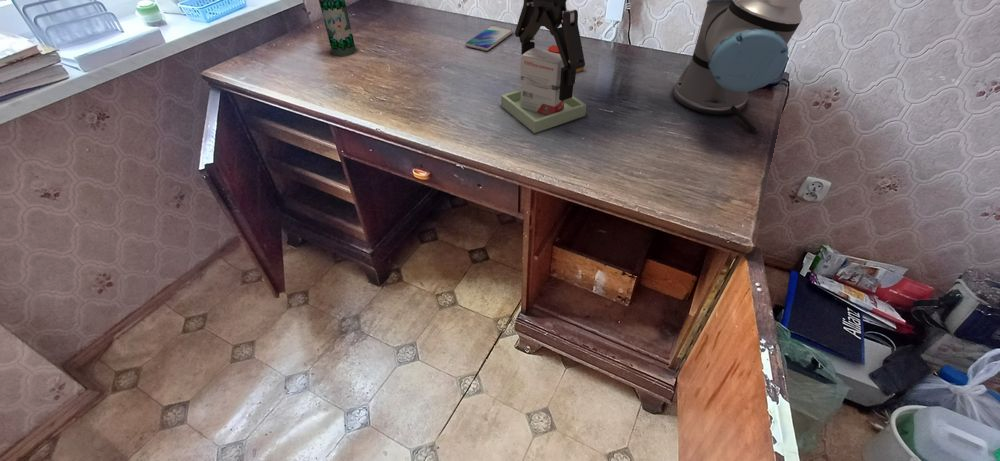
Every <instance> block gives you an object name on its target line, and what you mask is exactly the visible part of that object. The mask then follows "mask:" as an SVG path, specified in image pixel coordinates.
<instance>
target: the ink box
mask: <svg viewBox="0 0 1000 461" xmlns="http://www.w3.org/2000/svg"><path fill="white" fill-rule="evenodd" d="M563 67H564V64H563V61H562V59H561V56H560V54H557V53H552V52H548V51H545V50H543V49H539V48H536V47H535V48H531V49H530V50H528V51H527V52H525V53H524V54H523V55H520V90H521V100H520V104H521V106H520V107H521V108H523V109H527V110H530V111H533V112H537V113H540V114H543V115H547V116H548V115H551V114H554V113H557V112H560V111H562V110H563V109H564V100H563V101H560V100H559V92H560V78H561V68H563Z"/></svg>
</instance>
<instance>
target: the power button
mask: <svg viewBox="0 0 1000 461" xmlns="http://www.w3.org/2000/svg"><path fill="white" fill-rule="evenodd" d="M547 50H548V52H552V53H557V54H560V53H559V50H558V47H557V45H551V46H549V47H548V48H547Z"/></svg>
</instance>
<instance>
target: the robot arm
mask: <svg viewBox="0 0 1000 461" xmlns="http://www.w3.org/2000/svg"><path fill="white" fill-rule="evenodd" d="M567 1H568V0H523V5H522V8H521V11H520V15H519V18H518V21H517V24H516V27H515V30H514V36H515V37H516V38H519V42H520V44H521V45H520V47H521V52H520V54H521V55H523V54H524V53H525V52H527V51H528V50H530V49H531V48H535V49H536V46H535V45H536V43H535V41H534V40H536V39H535V36H536V35H537V33H538V32H539V30H541V28H542V27H544V28H545V29H546V30H548V31H549V34H550V35H551V36H553V38H554V40H555V44H556V46H557V47H558V50H559V53H560V56H561V59H562V61H563V64H564V67H563V68H561V78H560V92H559V100H560V101H563V100H566V99H569V98H572V96H573V92H574V85H575V84H576V75H577V73H576V69H579V68H582V67H584V68H585V67H586V61H585V55H584V51H583V46H582V39H581V34H580V28H579V11H578V10H577V9H572V10H569V9H568V8H567ZM802 2H803V0H707V1H706V7H705V11H704V14H703V18H702V22H701V25H700V29H699V32H698V36H697V40H696V43H695V45H694V46H695V47H694V50H693V53H692V57H691V60H690V62H689V63H688V65H687V67H686V68H685V69H684V71H683V72H682V74H681V76H680V77H679V78H678V80H677V81H676V83H675V85H674V86H675V87H674V90H673V97H674V99H675V100H676V101H677V102H678V103H679V104H680V105H682V106H684V107H685V108H687V109H690V110H692V111H694V112H698V113H701V114H707V115H715V116H723V115H724V116H725V115H733V114H735V115H736V116H737V117H738V118H739V120H740V121H741V122H742V123H743V124H744V125H745V127H746V128H748V129H749V130H750V131H751V132H753V133H754V132H756V131H757V127H756V126H755V125H753V123H752V122H750V121H749V119H748V118H747V117H746V116H745V115H744V114H743V113H742V112H741V111H742V110H743V109H744V108H745V106H746V103H747V101H748V98H749V92H753V91H755V90H759V89H761V88H764V87H766V86H767V85H769V84H771V83H772V82H774V81H775V80H776V79H777V78H778V77H779V76H780V75H781V74H782V72H783V71H784V69H785V67H786V65H787V63H788V58H789V46H788V44H789V42H790V41H791V39H792V38H793V36H794V35H795V32H796V31H797V29H798V27H799V26H800V24H801V22H802V21H803V14H802V11H801V3H802ZM560 26H561V27H560ZM521 55H520V56H521ZM569 61H570V62H569Z"/></svg>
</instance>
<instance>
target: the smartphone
mask: <svg viewBox="0 0 1000 461" xmlns="http://www.w3.org/2000/svg"><path fill="white" fill-rule="evenodd" d="M513 33H514V31H513V30H512V29H510V28H505V27H501V26H497V25H490V26H489V27H487V28H486V29H484V30H483V31H481V32H480V33H478V34H477V35H474V37H472V38H470V39H468V41H466V42H465V46H466V47H468V48H474V49H477V50H480V51H486V52H487V51H489V50H491V49H492V48H494V47H495V46H496V45H498V44H500V43H501V42H502V41H504V40H505V39H507V38H508V37H509V36H511V35H512V34H513Z"/></svg>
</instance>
